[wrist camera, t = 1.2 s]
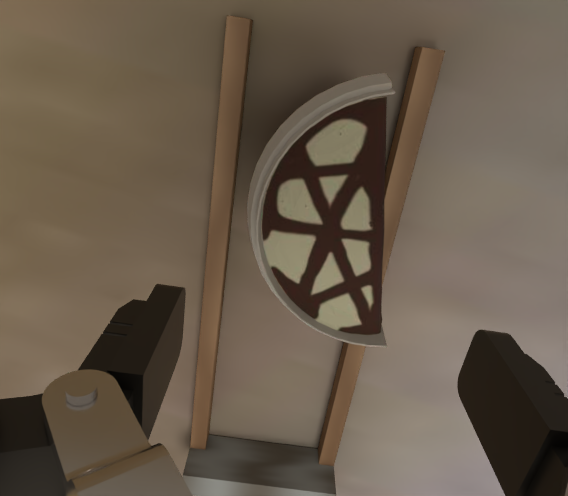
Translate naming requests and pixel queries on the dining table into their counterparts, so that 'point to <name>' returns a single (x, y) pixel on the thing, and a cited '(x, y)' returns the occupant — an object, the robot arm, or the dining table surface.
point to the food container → (326, 210)
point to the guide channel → (209, 448)
